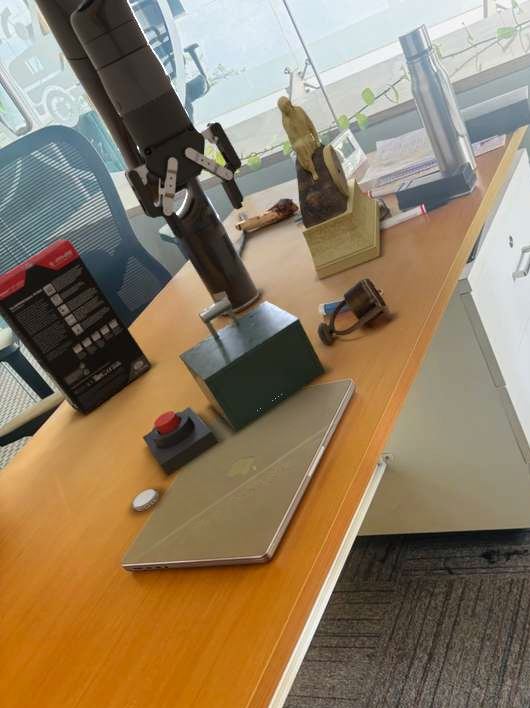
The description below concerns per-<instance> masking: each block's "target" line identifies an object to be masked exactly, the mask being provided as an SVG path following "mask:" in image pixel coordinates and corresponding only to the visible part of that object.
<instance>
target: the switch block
mask: <svg viewBox="0 0 530 708" xmlns="http://www.w3.org/2000/svg"><path fill="white" fill-rule="evenodd" d="M175 414H176V415H177V416H178V418H179V419H180V421H181V422H180V424H179V425H178V426H177V427H176V428H175V429H173V430H172V431H170V432H168V433H165V434H160V432H159V431H158V429H157V428H156V427H155V426H154V427H152V430H150V431H149V432H148V433H147V434H145V435H143V436H142V439H143V441H144V442H145V444H146V445H147V447H148V448H149V450H150V451H151V453H152V455H153V456H154V458H155V459H156V461H157V463H158V465H159V466H160V468H162V470H163V471H164V473H166V475H167V476H170V475H172V474H173V473H175V472H176V471H177V470H179V469H181V468H182V467H183V466H185V465H186V464H188V463H190V462H191V461H192V460H194V459H196V458H197V457H199V456H200V455H202V454H203V453H205V452H206V451H208V450H209V449H211V448H212V447H214V446H215V445H217V444H218V443H219V441H218V439H217V437H216V436H215V435H214V433H213V432H212V429H210V428H209V427H208V426H207V424H206V423H205V422H204V421H203V419H201V418H200V416H199V415H198V414H197V413H196V411H194V409H192V407H191V406H188V407H186V408H185V409H183V410H182V411H178V412H175Z"/></svg>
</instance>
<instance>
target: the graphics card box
mask: <svg viewBox="0 0 530 708" xmlns="http://www.w3.org/2000/svg"><path fill="white" fill-rule="evenodd" d="M0 317H1V319H3V321H4V322H5V323H6V324H7V325H8V327H9V328H10V330H11V331H12V332H13V333H14V335H15V336H16V338H17V339H19V341H20V342H21V343H22V345H24V347H25V349H26V350H27V351H28V352H29V354H30V355H31V356H32V358H33V359H34V360H35V362H36V363H37V364H38V365H39V366H40V368H41V369H42V370H43V372H44V373H45V374H46V376H47V377H48V378H49V379H50V381H51V382H52V383H53V385H54V386H55V387H56V388H57V390H58V391H59V392H60V394H61V395H62V396H63V398H65V400H66V402H67V403H68V404H69V405H70V406H71V408H72V409H74V410H75V411H77V412H79V413H81V414H83V415H86V414H88V413H89V412H90V411H92V410H94V408H96V407H97V406H99V405H100V404H102V403H103V402H104V401H105V400H107V399H109V398H110V397H111V396H112V395H114V394H115V393H117V392H118V391H119V390H121V389H122V388H124V387H125V386H127V385H128V384H129V383H131V382H132V381H134V379H136V378H138V377H140V375H142V374H143V373H144V372H146V371H147V370H149V369H150V368H151V366H152V363H151V362H150V360H149V359H148V357H147V356H146V354H145V353H144V351H143V349H142V348H141V346H140V345H139V344H138V342H137V341H136V339H135V338H134V337H133V336H134V335H132V333H131V331H130V330H129V329H128V327H127V326H126V324H125V322H124V321H123V320H122V318H121V317H120V315H119V314H118V312H117V311H116V309H115V308H114V306H113V305H112V303H111V302H110V301H109V299H108V297H107V296H106V294H105V293H104V291H103V289H102V287H100V285H99V283H98V282H97V281H96V279H95V278H94V275H93V274H92V273H91V271H90V269H89V268H88V266H87V265H86V264H85V262H84V261H83V259H82V258H81V256H80V254H79V253H78V251H77V250H76V248H75V247H74V245H73V243H72V242H70V240H69V239H67V238H64V239H63V238H62V239H59V240H58V241H55V242H54V243H53V244H51V245H49V246H48V247H46V248H44V249H43V250H41V251H40V252H38V253H36V254H35V255H33V256H31V257H30V258H28V259H26V260H25V261H23V262H22V263H20V264H18V265H17V266H15V267H13V268H12V269H10V270H8V271H7V272H5V273H3V274H2V275H0Z"/></svg>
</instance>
